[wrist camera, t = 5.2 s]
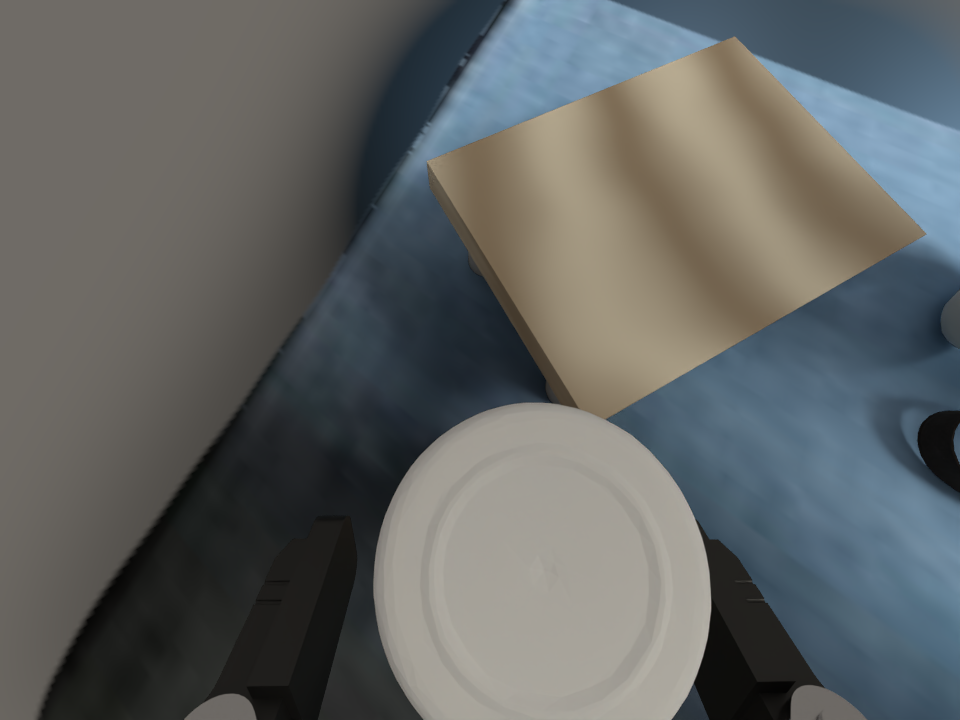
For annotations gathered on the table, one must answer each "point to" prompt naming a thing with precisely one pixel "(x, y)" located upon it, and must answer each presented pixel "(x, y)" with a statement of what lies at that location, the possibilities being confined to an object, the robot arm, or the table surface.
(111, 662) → the table surface
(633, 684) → the sprinkles bottle
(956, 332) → the donut
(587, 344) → the small wooden stool
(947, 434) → the watch
